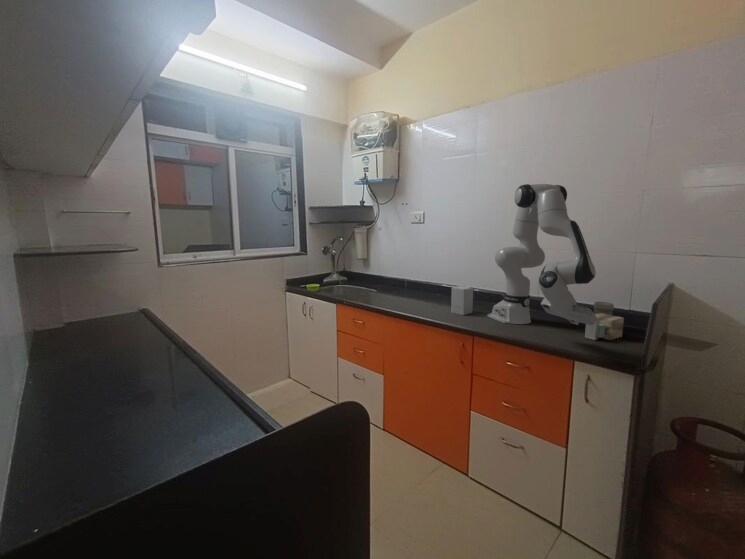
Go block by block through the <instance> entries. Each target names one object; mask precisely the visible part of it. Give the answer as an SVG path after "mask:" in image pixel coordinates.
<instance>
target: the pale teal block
mask: <svg viewBox="0 0 745 559" xmlns="http://www.w3.org/2000/svg"><path fill="white" fill-rule="evenodd" d="M604 335H605V324H600V323H599V331H598V339H600V338H601V337H604ZM601 339H602V338H601Z"/></svg>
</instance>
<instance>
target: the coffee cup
mask: <svg viewBox="0 0 745 559" xmlns="http://www.w3.org/2000/svg"><path fill="white" fill-rule="evenodd" d="M592 307H593V313H594V314H597V313H603V314H608V315H613V312H614V310H615V306H614V303H611V302H607V301H595V302H594V303H593V306H592Z"/></svg>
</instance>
